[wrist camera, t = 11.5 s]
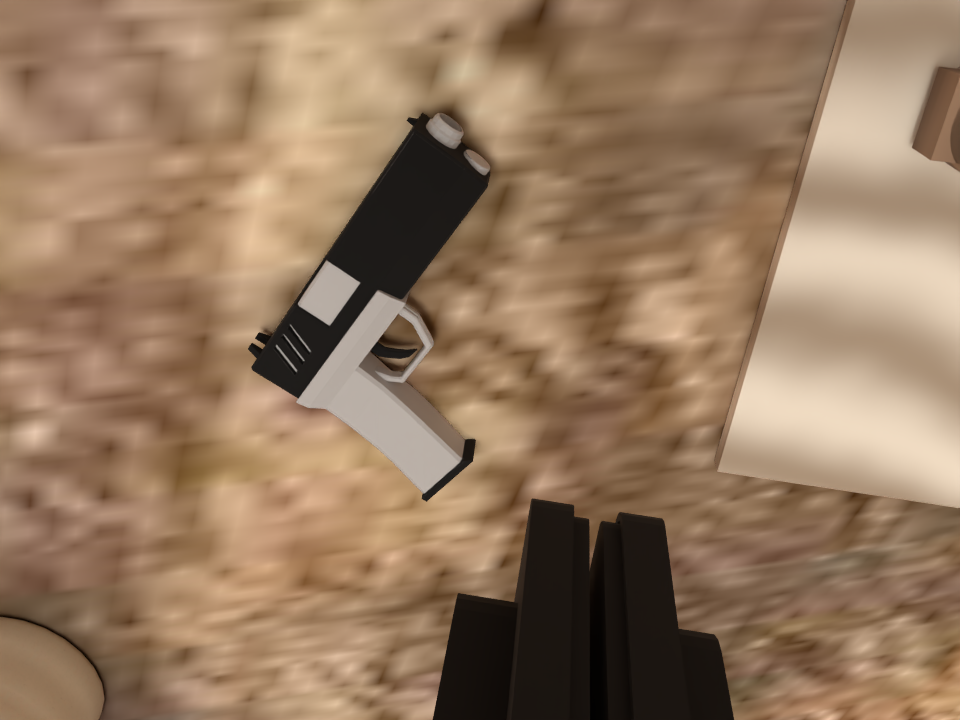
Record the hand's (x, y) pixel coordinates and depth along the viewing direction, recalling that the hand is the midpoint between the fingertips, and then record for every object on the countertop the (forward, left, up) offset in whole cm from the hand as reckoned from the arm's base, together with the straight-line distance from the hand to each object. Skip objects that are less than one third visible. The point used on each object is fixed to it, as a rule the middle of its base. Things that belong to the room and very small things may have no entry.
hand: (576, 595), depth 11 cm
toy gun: (+9, -6, -28) cm, 30 cm away
